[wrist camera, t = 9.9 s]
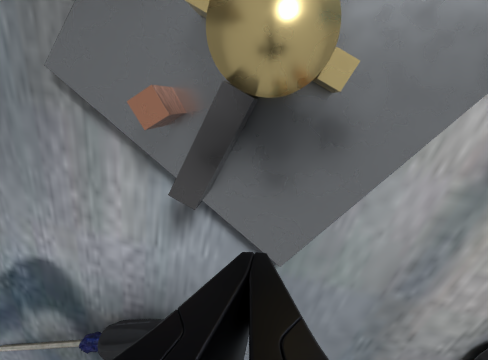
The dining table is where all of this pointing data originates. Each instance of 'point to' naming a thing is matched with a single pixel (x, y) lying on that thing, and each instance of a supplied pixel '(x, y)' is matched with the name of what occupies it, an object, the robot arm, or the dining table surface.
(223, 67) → the gold lugged knob
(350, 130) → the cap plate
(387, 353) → the dining table surface
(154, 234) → the dining table surface
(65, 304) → the dining table surface
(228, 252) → the dining table surface
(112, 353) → the screwdriver
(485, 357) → the canister
